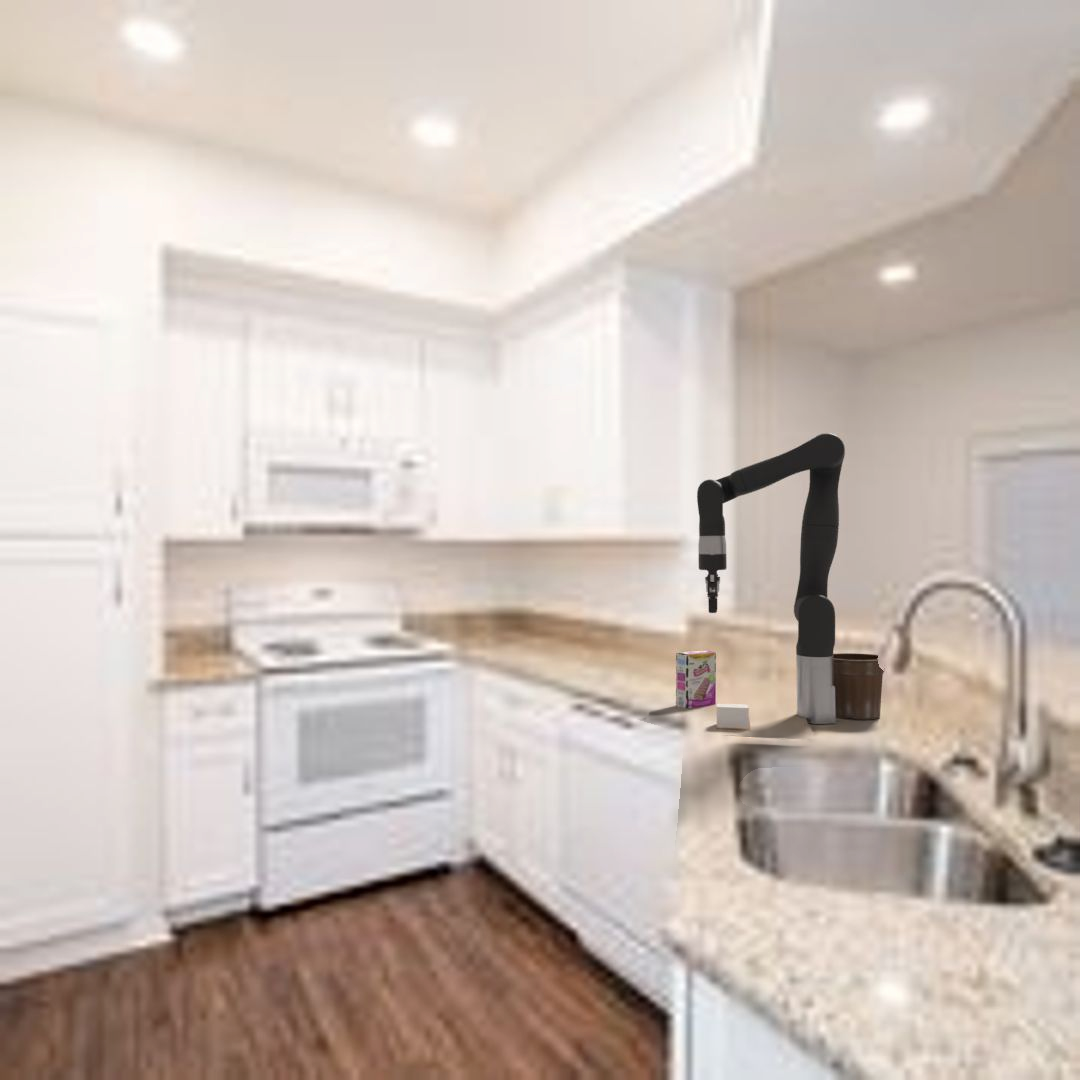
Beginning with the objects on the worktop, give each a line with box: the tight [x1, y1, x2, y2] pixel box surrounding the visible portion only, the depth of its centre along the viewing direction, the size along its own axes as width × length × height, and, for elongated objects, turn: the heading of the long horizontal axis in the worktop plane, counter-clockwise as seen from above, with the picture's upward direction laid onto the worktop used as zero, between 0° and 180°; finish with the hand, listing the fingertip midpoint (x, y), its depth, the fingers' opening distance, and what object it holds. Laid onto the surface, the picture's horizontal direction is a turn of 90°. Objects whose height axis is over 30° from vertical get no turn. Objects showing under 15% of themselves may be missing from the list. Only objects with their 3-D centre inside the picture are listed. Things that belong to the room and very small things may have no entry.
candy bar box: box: [675, 650, 717, 709], centre depth 226 cm, size 11×5×16 cm, turn 122°
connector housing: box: [716, 703, 750, 729], centre depth 198 cm, size 8×4×5 cm, turn 77°
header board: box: [716, 719, 752, 732], centre depth 203 cm, size 8×20×2 cm, turn 167°
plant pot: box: [833, 652, 885, 721], centre depth 217 cm, size 16×16×16 cm
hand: (713, 611), depth 221 cm, fingers open, 8 cm apart
